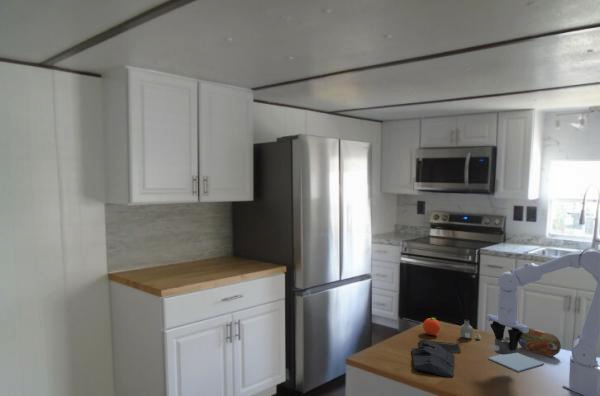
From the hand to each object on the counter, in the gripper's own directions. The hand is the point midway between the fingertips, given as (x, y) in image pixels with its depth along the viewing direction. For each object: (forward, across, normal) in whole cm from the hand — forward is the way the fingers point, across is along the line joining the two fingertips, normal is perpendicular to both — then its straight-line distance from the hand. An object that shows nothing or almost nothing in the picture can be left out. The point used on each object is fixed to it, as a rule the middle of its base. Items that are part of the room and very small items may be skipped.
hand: (506, 347), depth 146 cm
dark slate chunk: (+9, +17, +17) cm, 26 cm away
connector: (+1, 0, 0) cm, 1 cm away
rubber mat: (+8, +4, -11) cm, 14 cm away
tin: (+9, +6, -27) cm, 29 cm away
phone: (+9, +26, +4) cm, 28 cm away
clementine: (+9, +38, -4) cm, 39 cm away
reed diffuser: (+9, +29, -15) cm, 33 cm away
